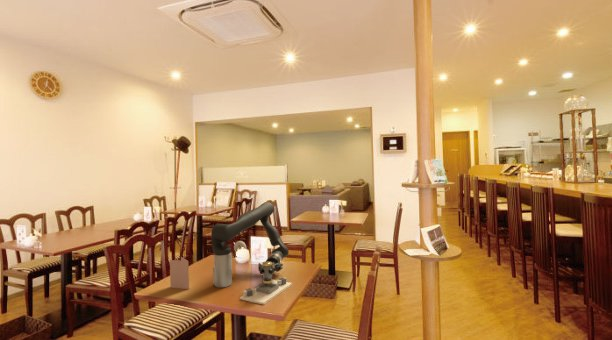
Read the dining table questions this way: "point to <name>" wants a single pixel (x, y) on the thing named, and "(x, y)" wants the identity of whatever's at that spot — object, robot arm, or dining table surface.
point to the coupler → (267, 272)
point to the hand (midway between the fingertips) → (265, 272)
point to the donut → (239, 245)
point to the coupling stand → (266, 291)
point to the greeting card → (179, 273)
